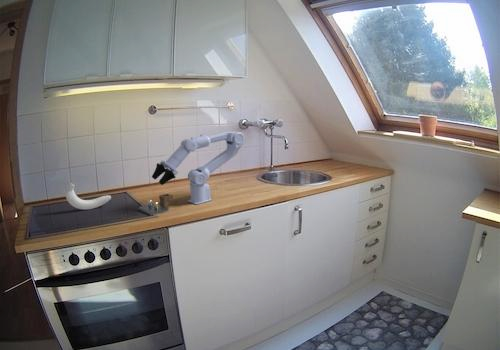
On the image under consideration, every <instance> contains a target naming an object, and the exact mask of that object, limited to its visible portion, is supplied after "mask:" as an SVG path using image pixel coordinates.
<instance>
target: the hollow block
mask: <svg viewBox="0 0 500 350" xmlns="http://www.w3.org/2000/svg"><path fill="white" fill-rule="evenodd" d="M158 198H159V199H158V200H159V204H160V205H162V206H165V207H167V208H168V207H171V206H174V198H173V195H172V194H171V193H164V194H159V195H158Z"/></svg>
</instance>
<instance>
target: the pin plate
mask: <svg viewBox="0 0 500 350" xmlns="http://www.w3.org/2000/svg"><path fill="white" fill-rule="evenodd" d="M138 210H139V211H141V212H142V213H145V214H147V215H149V216H154V215H153V214H155V215H158V214H161V212H162V213H164V212H168V211H169V210H170V208H168V207H165V206H162V205H160V203H159V201H154V202H153V199H151V198H149V199H147V204H146V205H142V206H138ZM157 213H158V214H157Z"/></svg>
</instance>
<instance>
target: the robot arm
mask: <svg viewBox="0 0 500 350" xmlns="http://www.w3.org/2000/svg"><path fill="white" fill-rule="evenodd" d="M221 141H226V149H224V151H222V152H220V153H219V154H218V155H216V156H215V157H213V159H211V160H210V161H208V162H207V163H205V164H204V165H202V166H198V167H197V168H195V169H192V170H191V169H190V171H189V172H188V173H187V179H188V181H189V191H190V199H188V200H187V202H189V203H191V204H193V205H200V204H203V203H206V202H209V201H212V198H211V197H212V196H211V188H210V185H209V183H208V182H206V181H207V180H208V179H209V178H210V175H211V174H212V173H214V172H215V171H216V170H217V169H219V168H220V167H222V166H223V165H225V163H228V161H230V160H231V159H232V158H234V157H235V156H236V155H238V153H239V151H240V148H241V147H242V146H243V145H244V143H245V135H244V134H243V132H240V131H234V130H229V131H224V132H219V133H217V134H213V135H210V136H208V135H206V134H200V136H196V137H194V136H192V137H191V138H185V139H182V140H181V143H180V146H179V147H177V149H175V151H174V152H173V153H172V154H171V155H170V156H169V157H168V159H166V161H165V160H161V161H160V162H159V163H156V167H155V169H154V172H153V174H152V175H151V178H152V179H153V180H157V179H158V178H159V177H160V176H161V175H162V174H163V175H162V177H161V178H160V179H159V181H158V183H159V184H160V185H161V186H163V185H164V184H166V183H168V182H169V181H171V180H173V179H176V176H177V175H178V173H179V171H178V170H177V169H178V167H179V166H180V165H181V164H182V163H183V161H185V159H186V158H187V157H188V156H189V155H190V153H191V152H195V151H196V150H198V149H202V148H206V147H209V145H210V144H212V143H218V142H221Z"/></svg>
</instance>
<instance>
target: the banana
mask: <svg viewBox="0 0 500 350" xmlns="http://www.w3.org/2000/svg"><path fill="white" fill-rule="evenodd" d="M69 186H70V188H69V190H68V191H67V192H66V194H65V198H66V200H67V202H68V203H69V205H70V206H71V207H74V208H76V209H78V210H87V211H88V210H93V209H96V208H99V207H100V206H102V205H105V204H106V203H108V202H109V201H110V200H111V199H112V196H111V195H103V196H99V197H97V198H94V199H86V200H85V199H81V198H80V197H79V196H78V195H77V194H76V192H75V190H74V189H75V186H76V185H75V184H73V183H72V182H70V185H69Z"/></svg>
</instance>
